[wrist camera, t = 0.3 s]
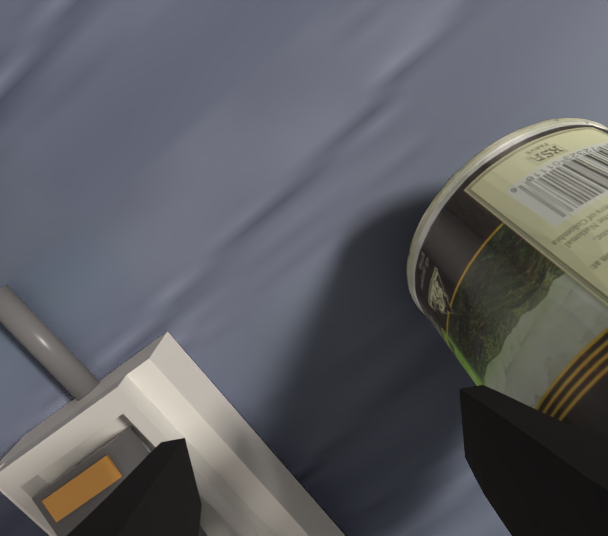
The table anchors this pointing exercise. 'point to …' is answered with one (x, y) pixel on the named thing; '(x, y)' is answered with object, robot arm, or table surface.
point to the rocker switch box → (155, 435)
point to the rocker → (91, 482)
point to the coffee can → (525, 269)
